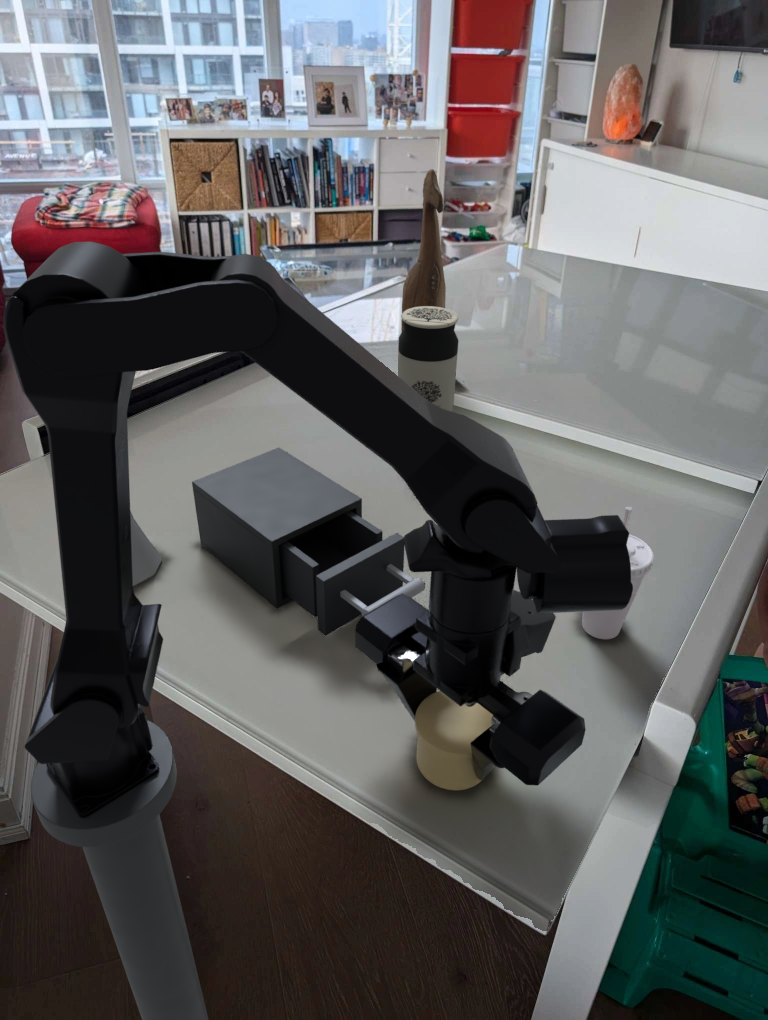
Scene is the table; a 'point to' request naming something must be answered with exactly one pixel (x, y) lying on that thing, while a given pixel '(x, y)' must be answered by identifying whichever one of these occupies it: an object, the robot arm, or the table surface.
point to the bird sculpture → (427, 255)
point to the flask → (142, 554)
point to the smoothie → (641, 563)
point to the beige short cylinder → (448, 740)
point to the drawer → (344, 570)
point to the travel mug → (429, 353)
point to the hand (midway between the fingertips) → (453, 751)
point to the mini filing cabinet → (264, 514)
